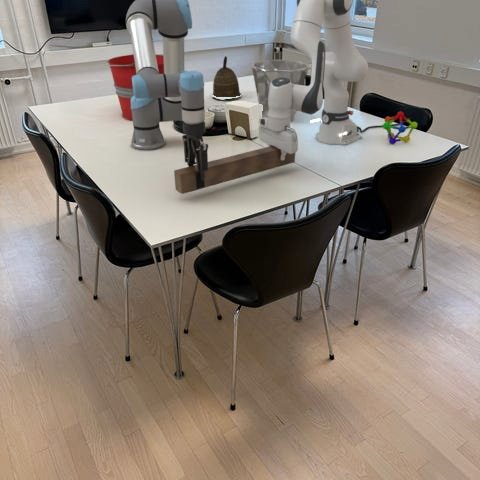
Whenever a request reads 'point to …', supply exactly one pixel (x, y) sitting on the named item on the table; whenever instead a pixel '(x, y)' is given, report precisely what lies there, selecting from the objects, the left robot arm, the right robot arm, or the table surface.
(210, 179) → the beam
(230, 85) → the bell
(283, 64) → the bucket
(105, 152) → the table surface
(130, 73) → the bucket
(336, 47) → the right robot arm
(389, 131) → the educational toy
